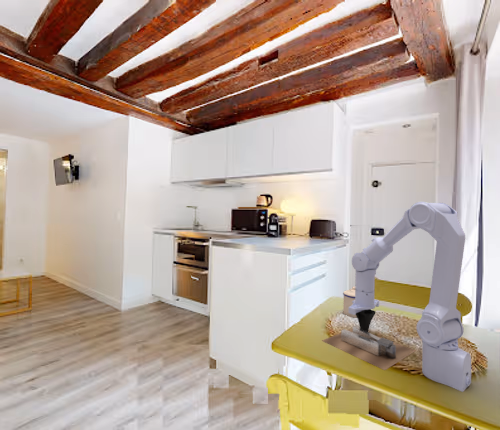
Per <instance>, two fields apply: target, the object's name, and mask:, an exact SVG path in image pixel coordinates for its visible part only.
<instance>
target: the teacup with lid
mask: <svg viewBox="0 0 500 430" xmlns="http://www.w3.org/2000/svg"><path fill="white" fill-rule="evenodd" d="M342 295H343V310H342V311H343V313H342V314H343V315H344V314H345V315H344V316H346V315H347V316H346V317H349V318H351V319H358V318H357V316H356V315H353V314H350V313H348V312H349V307H350V306H351V305H352V304H353V303H352V301H353V300H355V286H352V288H350V289H347V290H344V291H343V293H342Z"/></svg>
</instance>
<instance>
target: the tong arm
mask: <svg viewBox="0 0 500 430" xmlns="http://www.w3.org/2000/svg"><path fill="white" fill-rule="evenodd" d="M352 328H353V333H355V334H358V335H360V336H363V337H365V338H368V339H371V340H373V341H376V342H377V340H379V339H381V338H382V337H381V338H379V337H380V336H379V337H377V336H378V335H376V334H373V333H371V332H369V331H368V332H367V331H365V330H363V329H362V328H360V326H357V325H353V326H352ZM375 335H376V336H375ZM381 353H383V354H385V356H386V357H388V358H392V359H394V358H396V346H395V345H394V344H393V345H392V346H390V347H386V346H383V345H381Z"/></svg>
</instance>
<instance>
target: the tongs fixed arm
mask: <svg viewBox="0 0 500 430" xmlns="http://www.w3.org/2000/svg"><path fill="white" fill-rule="evenodd" d="M348 330H349V329H345V328H344V329H342V330H341V332H340V333H341V340H343V341H345V342H347V343H350V344H352V345H354V346H356V347H359V348H361V349H363V350H366V351H368V352H370V353H373V354H375V355H377V356H379V355H381V345H383V346H386V347H390V346H392V345H393V342H394V341H392V340H390V339H387V338H384V337H381V339H379V340H377V342H376V341H373V340H371V339H368V338H365V337H363V336H360V335H358V334H355V333H353V332H350V331H348Z"/></svg>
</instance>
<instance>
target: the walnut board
mask: <svg viewBox="0 0 500 430" xmlns="http://www.w3.org/2000/svg"><path fill="white" fill-rule="evenodd" d="M347 330H348V331H350V332H353V327H352V328H350V329H347ZM374 335H375V336H377V337H379V338H382V337H381V336H378V335H376V334H374ZM321 341H322V342H323V343H325V344H328V345H329V346H332V347H334V348H336V349H338V350H340V351H343V352H344V353H347V354H349V355H351V356H353V357H355V358H358V359H359V360H362V361H364V362H366V363H368V364H370V365H373V366H374V367H377V368H379V369H381V370H383V371H387V370H388V369H390V368H391V367H392V366H394V365H395V364H397V363H399V362H401V361H403V360H404V359H405V358H408V357H409V356H410V355H411V354H413V353H415V352H416V351H417V350H415V349H413V348H410V347H408V346H405V345H402V344H399V343H397V342H394V341H393V344H394V345H395V346H396V358H394V359H392V358H388V357H386V356H385V354H383V353H381V355H379V356H377V355H375V354H373V353H370V352H368V351H366V350H363V349H361V348H359V347H356V346H354V345H352V344H350V343H347V342H345V341H343V340H341V332H340V333H337V334H335V335H333V336H329V337H327V338H325V339H323V340H321Z"/></svg>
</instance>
